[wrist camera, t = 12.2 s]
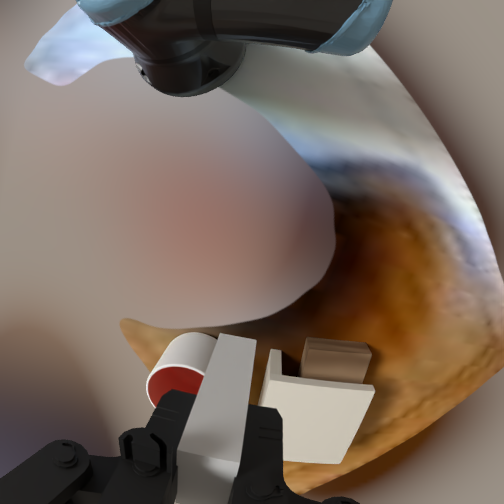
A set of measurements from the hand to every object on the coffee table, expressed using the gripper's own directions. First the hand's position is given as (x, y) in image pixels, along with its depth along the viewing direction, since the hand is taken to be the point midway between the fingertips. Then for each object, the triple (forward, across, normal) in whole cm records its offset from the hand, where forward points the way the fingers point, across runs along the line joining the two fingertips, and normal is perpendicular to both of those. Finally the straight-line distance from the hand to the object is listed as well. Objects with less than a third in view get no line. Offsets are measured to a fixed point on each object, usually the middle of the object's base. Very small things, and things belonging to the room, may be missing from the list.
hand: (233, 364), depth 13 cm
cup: (+30, -6, -19) cm, 36 cm away
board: (+30, +13, -20) cm, 38 cm away
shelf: (+29, +11, -22) cm, 39 cm away
